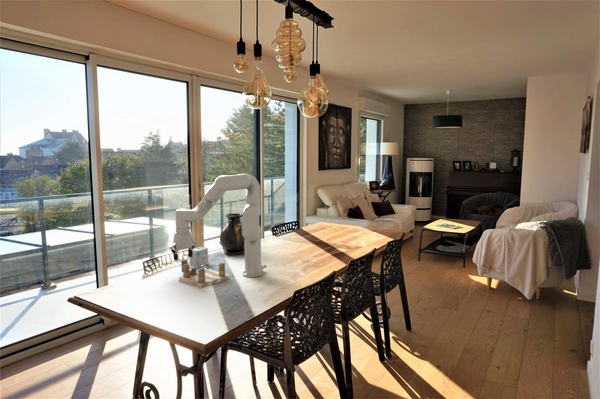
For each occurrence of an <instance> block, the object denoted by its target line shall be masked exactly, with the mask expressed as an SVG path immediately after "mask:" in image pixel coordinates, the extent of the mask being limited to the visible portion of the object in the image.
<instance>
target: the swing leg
mask: <svg viewBox="0 0 600 399" xmlns="http://www.w3.org/2000/svg"><path fill="white" fill-rule="evenodd" d="M188 260H189V259H181V260H180V262H181V264H180V265H181V273H183V265H184V264H189V263H188V262H189V261H188ZM190 268H191V269H190V274H191V275H197V272H198V267H197V268H196V267H190Z"/></svg>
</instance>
